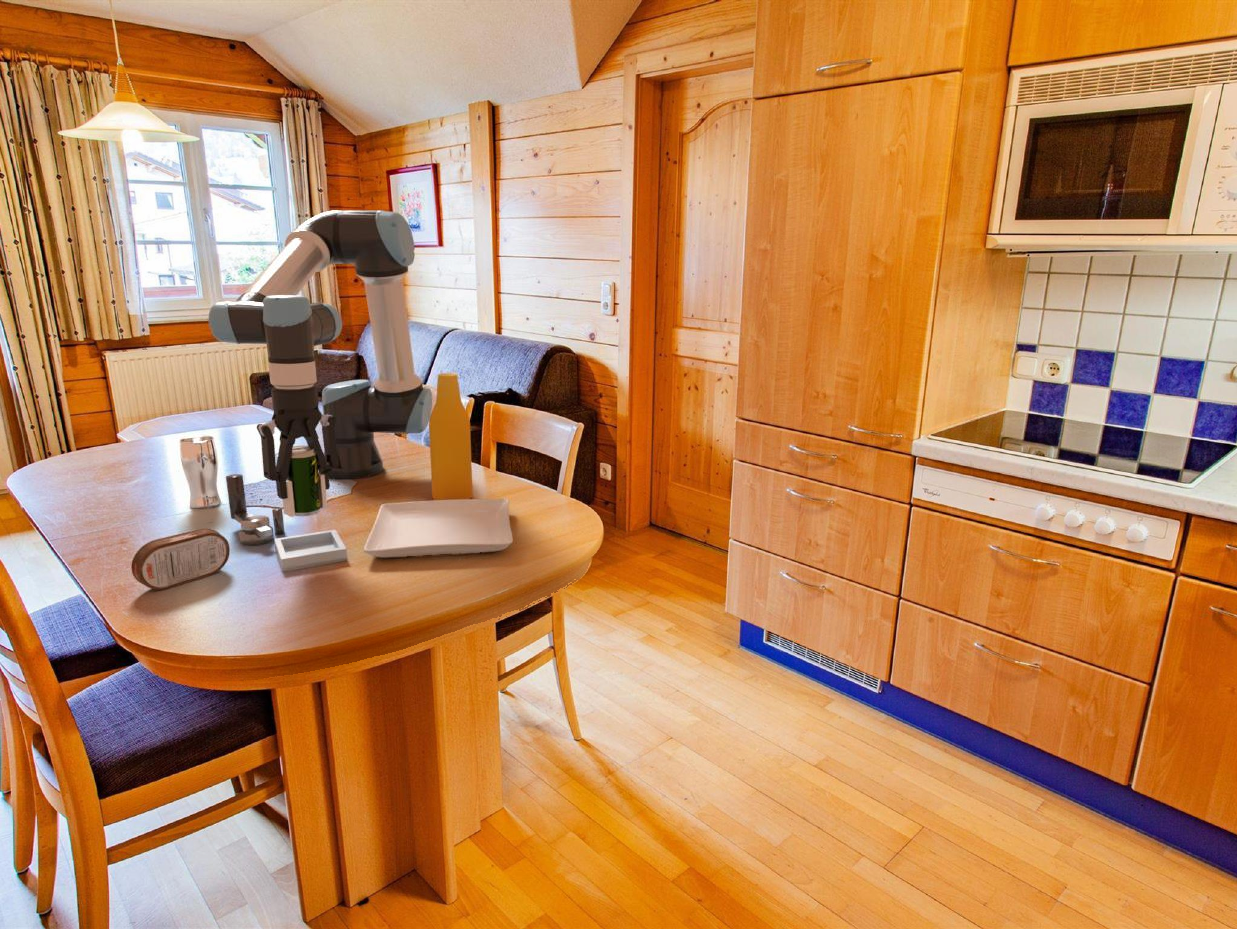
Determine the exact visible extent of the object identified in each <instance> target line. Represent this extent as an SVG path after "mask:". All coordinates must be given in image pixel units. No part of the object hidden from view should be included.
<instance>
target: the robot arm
mask: <svg viewBox="0 0 1237 929" xmlns="http://www.w3.org/2000/svg"><path fill="white" fill-rule="evenodd" d="M410 227H411V226H410V225H409V223H408V221H407V219H406V218H405V217H404V215H402V214H401V213H399V212H395V211H387V210H386V211H385V210H383V209H381V210H342V209H341V210H340V209H339V210H336V209H335V210H334V209H333V210H328V211H325V212H321V213H319V214H316V215H314V216H311V217H310V218H309V219H307V220H305V221H303V222H302V223H301V224H299V225H297V227H296V228H294V229H293V230H292V231H291V232H290V233H289V234H288V236H286V238H285V241H284V242H285V243H284V247H283V249H282V250H281V251H280V252H279V253H278V254H277V255H276V257H275V258H274V259H273V260H272V261H271V262H270V263H269V264H268V265H267V266H266V268H265V269H264V270H263V271H262V272H260V274H259V275H258V276H257V277H256V279H254V280H253V281H252V283H251V284H250V285H249V286H248V287H247V288H246V289H245V290H244V291H243V292H242V293H241V295H239V297H238V298H237V299H236V300H235V301H231V300H226V301H219V302H215V303H214V304H213V305H212V306H211V307H210V310H209V312H208V326H209V329H210V331H211V334H212V336H213V337H214V338H215V339H216V340H217V341H219V342H221V343H229V344H230V343H231V344H236V345H241V344H250V345H251V344H252V345H253V344H254V345H256V344H257V345H266V350H267V351H266V352H267V365H268V372H269V374H268V375H269V382H270V384H271V385H272V386H273V387H271V389H270V392H271V402H272V403H271V404H272V409H273V415H272V417H271V420H269V421H268V422H264V423H263V424H262V423H258V424H257V425H256V429H257V432H258V435H259V436H260V443H261V455H262V457H261V458H262V469H263V472H262V473H263V477H264V478H265V479H268V480H270V481H275V484H276V485H275V486H276V494H277V497H278V498H279V499H281V500H282V504H283V514H285V515H287V516H288V517H291V518H292V517H295V509H294V499H293V489H292V481H290V480H288V479H287V477H288V471H289V466H290V460H291V455H292V449H293V446H295V443H296V440H297V439H299V438H304V440H305V441H306V443H307V446H309V447H311V449H313V448H315V452H316V454H317V464H318V475H319V487H320V498H321V509H322V510H325V509H328V501H327V490H329V489H330V487H331V486H330V479H339V480H343V479H345V480H349V479H350V480H351V479H359V478H360V479H361V478H366V477H367V478H368V477H371V476H374V475H377V474H379V473H381V472H383V470H384V462H383V458H382V456H381V454H380V451H379V449H378V447H377V444H376V442H375V434H377V433H378V434H379V433H381V434H405V435H409V434H421V433H423V432H424V431H425V430H426V429H427V427H428V426H429V420H430V416H431V413H432V410H433V408H432V407H433V394H432V391H431V389H430V388H428V387H426V386H425V387H424V386H423V380H422V378H421V377H420V376H418V374H416V373H415V367H414V358H413V352H412V350H413V349H412V344H411V336H410V335H411V334H410V327H409V321H408V311H407V304H406V296H405V289H404V288H405V287H404V277H405V276H406V275H407V273H408V272H409V266H411V265H413V264H414V261H415V242H414V237H413V232H412V229H411V228H410ZM340 264H341V265H354V270H355V275H356V276H357V277H358V278H359V279H361V280H362V281H363V284H364V290H365V296H366V302H367V308H368V309H367V310H368V315H369V321H370V323H369V324H370V329H371V335H372V341H373V348H374V355H375V363H376V367H377V369H376V370H377V374H378V375H377V376H378V377H377V379H376V380H374V382H373V386H372V383H371V382H370V380H369V379H352V380H347V381H341V382H335V383H332V384H328V385H327V386H325V387H324V388H323V389H322V393H321V396H322V399H321V401H322V403H321V406H322V412H321V411H320V408H319V404H320V402H319V393H318V387H317V385H315V384H316V383H317V382H318V381H317V380H318V379H317V369H316V368H317V367H316V357H315V347H317V346H320V345H327V344H329V343H330V342H332V341H335V340H336V339H337V338H338V337H339V336H340V334H341V333H342V329H343V321H342V316H341V315H340V313H339V310H337V309H336V308H335V307H334V306H333V305H330V304H328V303H325V302H324V303H323V302H311V303H310V300H309V298H307V296H305V295H300V293H301V291H302V289H304V287H305V286H306V285H307V284H308V282H309V281H310V280H311V278H312V277H313V276H314V275H315V274H316V273H319V272H321V271H323V270H325V269H326V268H327V266H330V265H340ZM319 423H320V425H321V434H322V440H323V441H322V442H323V448H324V449H322V445H321V443H320V440H319V435H318V432H317V429H316V428H317V427H318V425H319ZM275 428H277V430H279V432H280V435H279V442H280V443H279V447H278V453H277V458H276V447H275V438H274V434H275V432H276V431H275ZM374 433H375V434H374ZM276 459H277V460H276Z"/></svg>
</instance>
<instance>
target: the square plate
mask: <svg viewBox="0 0 1237 929" xmlns="http://www.w3.org/2000/svg"><path fill="white" fill-rule="evenodd" d="M513 539H514V538H513V533H512V527H511V523H510V501H509V499H508V498H505V497H503V498H471V499H460V500H435V501H434V500H420V501H408V502H391V503H390V502H389V503H384V504H383V503H382V504H381V505H380V507H379V510H378V512H377V515H376V518H375V521H374V524H373V526H372V528H371V530H370V533H369V535H368V537H367V540H366V542H365V544H364V546H363V551H364V553H366V554H368V555H369V556H372V557H375V558H408V557H407V556H414V557H424V556H423V555H432V556H439V555H438V554H452V555H460V554H459V553H473V554H480V552H482V553H493V552H498V551H499V552H500V551H503V550H505V549H507V548H508V547H509V546H511V545H512V544H513V541H514V540H513Z"/></svg>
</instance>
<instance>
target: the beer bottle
mask: <svg viewBox="0 0 1237 929" xmlns="http://www.w3.org/2000/svg"><path fill="white" fill-rule="evenodd" d="M458 378H459V377H458V374H457V373H451V372H448V373H446V372H445V373H439V374H438V375H437V383H436V384H437V385H436V399H435V404H434V406H433V408H432V409H431V415H430V420H429V423H428V434H429V435H428V436H429V451H430V452H429V454H430V456H429V457H430V473H431V496H432V500H433V501H435V500H460V499H470V498H471V497H472V498H473V492H474V491H473V469H472V443H471V442H472V441H471V439H472V438H471V421H470V416H469V414H468V412H467V411H466V408H465V406H464V404H463V402H462V396H461V391H460V386H459V384H460V383H459V379H458ZM472 498H471V499H472Z"/></svg>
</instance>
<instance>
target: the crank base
mask: <svg viewBox="0 0 1237 929" xmlns="http://www.w3.org/2000/svg"><path fill="white" fill-rule="evenodd" d="M271 511H272V520H273V526H271V525H270V528H271V529H272V535H270V536H266V537H260V536H259V535H257V534H256V533H245V532H242V529H240V530H239V531H238V534H239V535H238V536H239V543H240V544H241V545H243V546H248V547H250V546H252V547H253V546H262V545H266V544H268V543H271V542H272V541H273V540H274V539H275V538H274V537H275V536H276V535H278V536H282V535H283V534H284V535H285V524H284V515H283V514H284V512H283V508H282V507H278V508H277V507H276V508H273V509H272V510H271ZM274 534H275V536H274Z"/></svg>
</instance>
